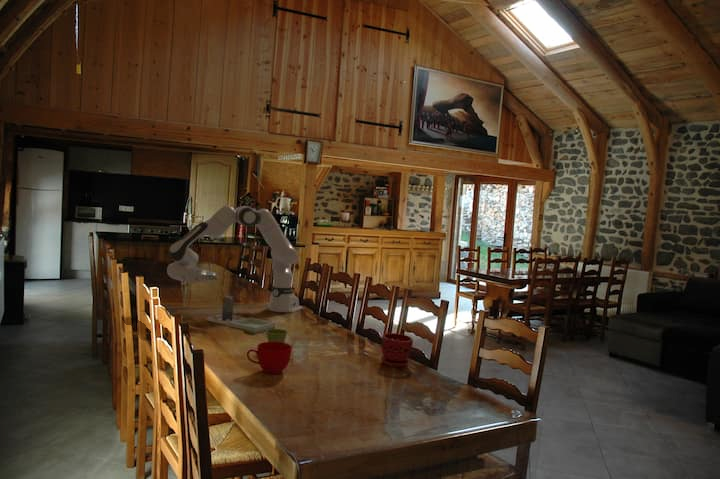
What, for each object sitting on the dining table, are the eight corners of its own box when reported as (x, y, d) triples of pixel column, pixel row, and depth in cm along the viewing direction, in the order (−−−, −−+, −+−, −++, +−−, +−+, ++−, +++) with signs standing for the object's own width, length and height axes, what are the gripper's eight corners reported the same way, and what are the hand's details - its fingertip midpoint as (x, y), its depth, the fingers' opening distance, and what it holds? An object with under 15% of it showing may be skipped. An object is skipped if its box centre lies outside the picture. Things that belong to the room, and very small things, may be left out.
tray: (225, 318, 293) (226, 312, 292) (246, 322, 286) (246, 316, 286) (207, 322, 280) (207, 315, 280) (227, 327, 274) (228, 320, 274)
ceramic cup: (243, 367, 212) (244, 342, 211) (285, 365, 218) (287, 341, 217) (248, 378, 200) (250, 351, 199) (293, 376, 206) (295, 350, 205)
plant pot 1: (284, 354, 233) (285, 334, 233) (262, 353, 233) (264, 333, 233) (287, 349, 243) (289, 329, 242) (266, 347, 243) (268, 328, 242)
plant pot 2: (385, 369, 224) (387, 340, 223) (376, 359, 237) (378, 332, 236) (415, 368, 228) (417, 340, 227) (404, 359, 240) (406, 332, 239)
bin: (250, 323, 286) (250, 317, 286) (274, 328, 279) (275, 322, 279) (229, 328, 272) (230, 322, 272) (255, 333, 265) (255, 327, 264)
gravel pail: (226, 319, 287) (227, 293, 286) (234, 320, 284) (236, 295, 283) (219, 320, 282) (220, 295, 281) (227, 322, 279) (228, 296, 279)
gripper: (178, 270, 284) (198, 274, 277) (205, 268, 302) (225, 272, 296) (177, 282, 284) (197, 287, 278) (204, 279, 302) (224, 283, 296)
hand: (211, 279), depth 287 cm, fingers open, 8 cm apart
